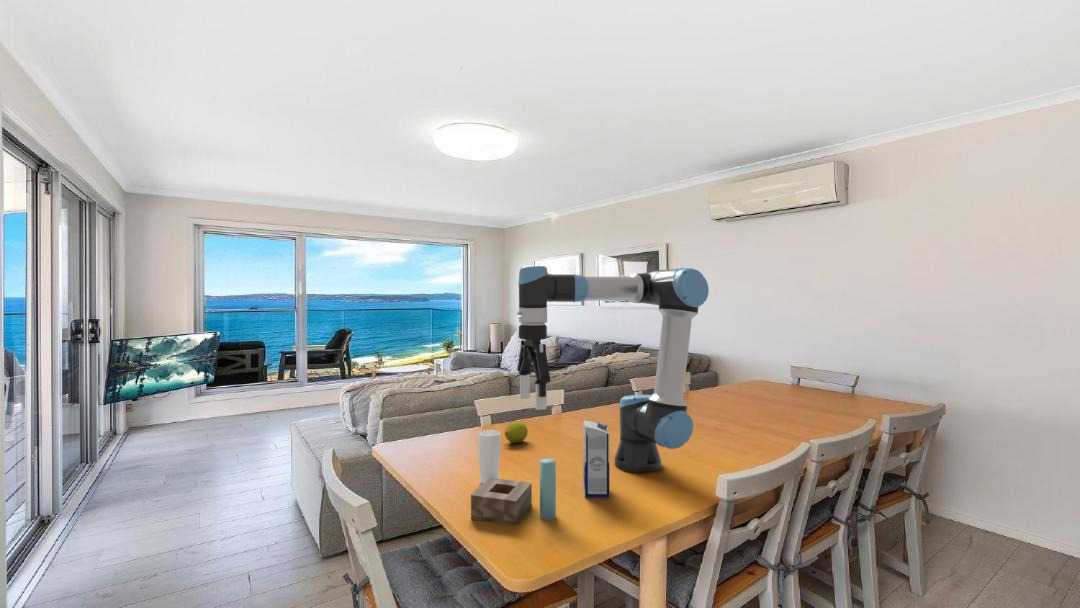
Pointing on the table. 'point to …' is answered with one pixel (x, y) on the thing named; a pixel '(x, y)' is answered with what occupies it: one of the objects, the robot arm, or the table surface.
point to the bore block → (501, 501)
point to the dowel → (547, 489)
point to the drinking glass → (489, 454)
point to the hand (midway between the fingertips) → (532, 403)
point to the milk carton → (596, 460)
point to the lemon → (516, 432)
